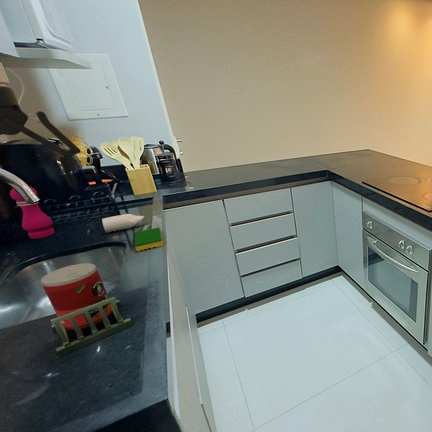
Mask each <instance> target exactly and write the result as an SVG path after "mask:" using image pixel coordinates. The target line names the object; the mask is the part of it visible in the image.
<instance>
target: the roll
mask: <svg viewBox="0 0 432 432" xmlns="http://www.w3.org/2000/svg"><path fill="white" fill-rule="evenodd" d="M144 218H145V216H144V215H135V214H132V213H125V214H119V215H114V216H109V217H108V216H107V217H103V218H102V220H101V222H102V226H103V229H104V232H105V233H106V234H108V233H112V231H113V232H117V230H118V231H122V230H123V231H124V230H127V229H132V228H133V227H134V226H136V225H137V224H138V223H140V222H141V221H142V220H143V219H144Z"/></svg>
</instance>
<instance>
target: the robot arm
mask: <svg viewBox="0 0 432 432" xmlns="http://www.w3.org/2000/svg"><path fill="white" fill-rule="evenodd" d="M9 84H10V79H9V78H8V75H7V73H6V70H5V68H4V66H3V63H2V62H1V60H0V136H2V135H3V136H6V135H7V136H16V135H19V134H20V133H22V134H24V135H26V136H27V137H30V138H31V139H33V140H34V141H37V142H38V143H39V144H42V145H44V146H45V147H47V148H49V149H51V150H52V151H54V152H56V153H58V154H59V155H61V156H59V157H58V160H59V161H60V164H61V166H62V169H63V172H64V174H65V177H66V180H67V182H68V184H69V186H70V187H71V188H73V187H76V186H77V185H76V182H75V180H74V178H73V175H72V173H71V172H75V171H76V170H77V167H76V164H75V162H74V160H73V156H75V155H77V154H81V149H80V148H79V147H78V146H77V145H76V144H75V143H74V142H72V141H71V140H70V139H69V138H68V137H67V136H66V135H65V134H63V133H62V132H61V131H60V130H59V129H58V128H57V127H56V126H55V125H54V124H53V123H52V122H51V121H50V120H49V118H48V117H47V115H46V113H45V112H44V111H40V110H38V111H35V112H27V113H25V112H24V111H23V110H22V108H21V106H20V104H19V101H18V99H17V96H16V94H15V91H14V89H12V88H11V87H8V86H7V85H9ZM29 119H31V120H33V121H34V122H35V123H38V124H40V123H41V124H42V125H43V126H44V128H45V129H47V130H48V131H49V132H50V133H51V134H52V135H53V136H54V137H56V138H57V139H58V140H59V141H60V142H62V143H63V145H65V146H66V147H67V148H68V149H64V148H62V147H61V146H60V145H57V144H56V143H54V142H52V141H50V140H48V139H47V138H45V137H43V136H42V135H40V134H38V133H37V132H35V131H33V130H31V129H30V128H28V127H26V123H27V122H28V121H29Z"/></svg>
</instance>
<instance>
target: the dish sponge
mask: <svg viewBox="0 0 432 432" xmlns="http://www.w3.org/2000/svg"><path fill="white" fill-rule="evenodd" d="M162 235H163V234H162V231H161V228H160V227H154V228H149V229H144V230H143V229H142V230H139V231H135V232H134V247H135V250H136V252H142V251H141V250H143V251H145V250H144V249H147V250H149V249H148V248H151V249H154V248H153V247H156V248H159V247H163V246H164V239H163V236H162Z"/></svg>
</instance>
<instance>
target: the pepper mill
mask: <svg viewBox="0 0 432 432" xmlns="http://www.w3.org/2000/svg"><path fill="white" fill-rule="evenodd" d="M29 187H30V188H31V189H32V190H33V191H34V193H35V194H36V195H37V196H38V192H37V190H36V189H35V188H33V187H32V186H29ZM9 195H10V198H11V199H12V200H14V201H16V202H15V203H16V206H18V207H20V208H21V211H22V219H21V227H22V229H23V230H25V231H26V232H28V233H27V235H28V237H29V239H31V240H35V239H37V240H38V239H42V238H47V237H50V236H52V235H55V234H56V232H55V229H54V227H52V226H53V223H54V222H53V220H52V219H51V217H49V216H48V215H47V214H46V213H44V212H43V210H41V208H40V207H39V202H37V203H34V204H29V203H27V202H26V201H25V200H24V199H23V198H22V197H21V196H20V195H19V194H18V193H17V192H16V191H15V190H14V188H12V189H11V190H10V191H9Z"/></svg>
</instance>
